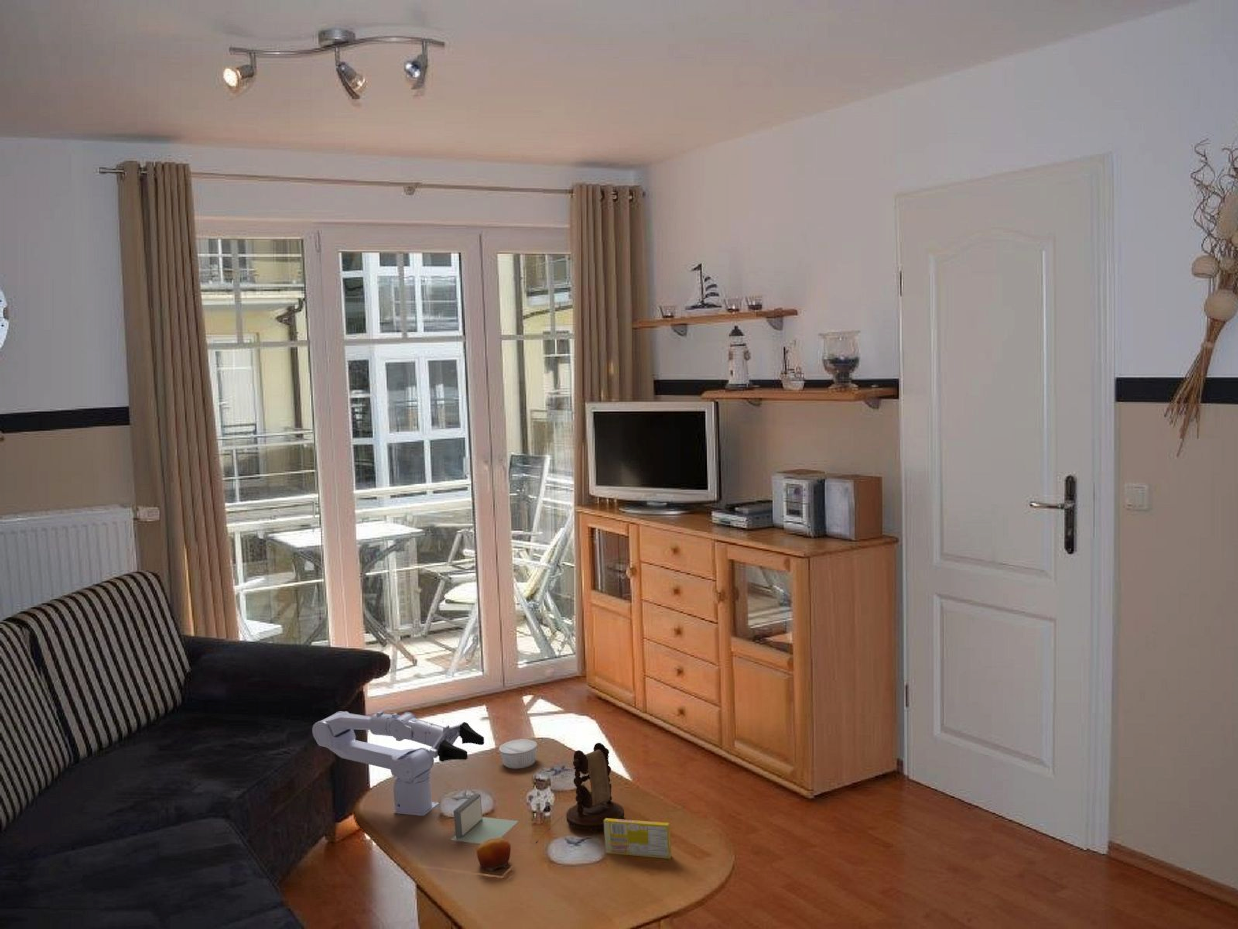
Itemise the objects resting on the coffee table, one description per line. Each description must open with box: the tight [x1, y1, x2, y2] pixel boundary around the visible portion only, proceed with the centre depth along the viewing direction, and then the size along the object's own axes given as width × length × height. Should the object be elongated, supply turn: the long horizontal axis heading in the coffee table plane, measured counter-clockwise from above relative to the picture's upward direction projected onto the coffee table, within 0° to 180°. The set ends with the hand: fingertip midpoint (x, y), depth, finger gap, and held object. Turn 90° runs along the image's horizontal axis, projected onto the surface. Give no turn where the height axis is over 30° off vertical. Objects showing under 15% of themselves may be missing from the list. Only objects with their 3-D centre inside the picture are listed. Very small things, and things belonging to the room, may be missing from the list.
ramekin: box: [498, 738, 538, 770], centre depth 333 cm, size 11×11×5 cm
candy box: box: [603, 818, 673, 860], centre depth 270 cm, size 16×2×8 cm, turn 71°
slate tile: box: [453, 793, 483, 838], centre depth 289 cm, size 2×11×7 cm, turn 158°
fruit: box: [476, 837, 511, 873], centre depth 268 cm, size 8×8×8 cm
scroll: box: [565, 742, 625, 835], centre depth 288 cm, size 15×15×20 cm
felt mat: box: [450, 816, 519, 845], centre depth 288 cm, size 12×14×1 cm
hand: (475, 748), depth 294 cm, fingers open, 7 cm apart
